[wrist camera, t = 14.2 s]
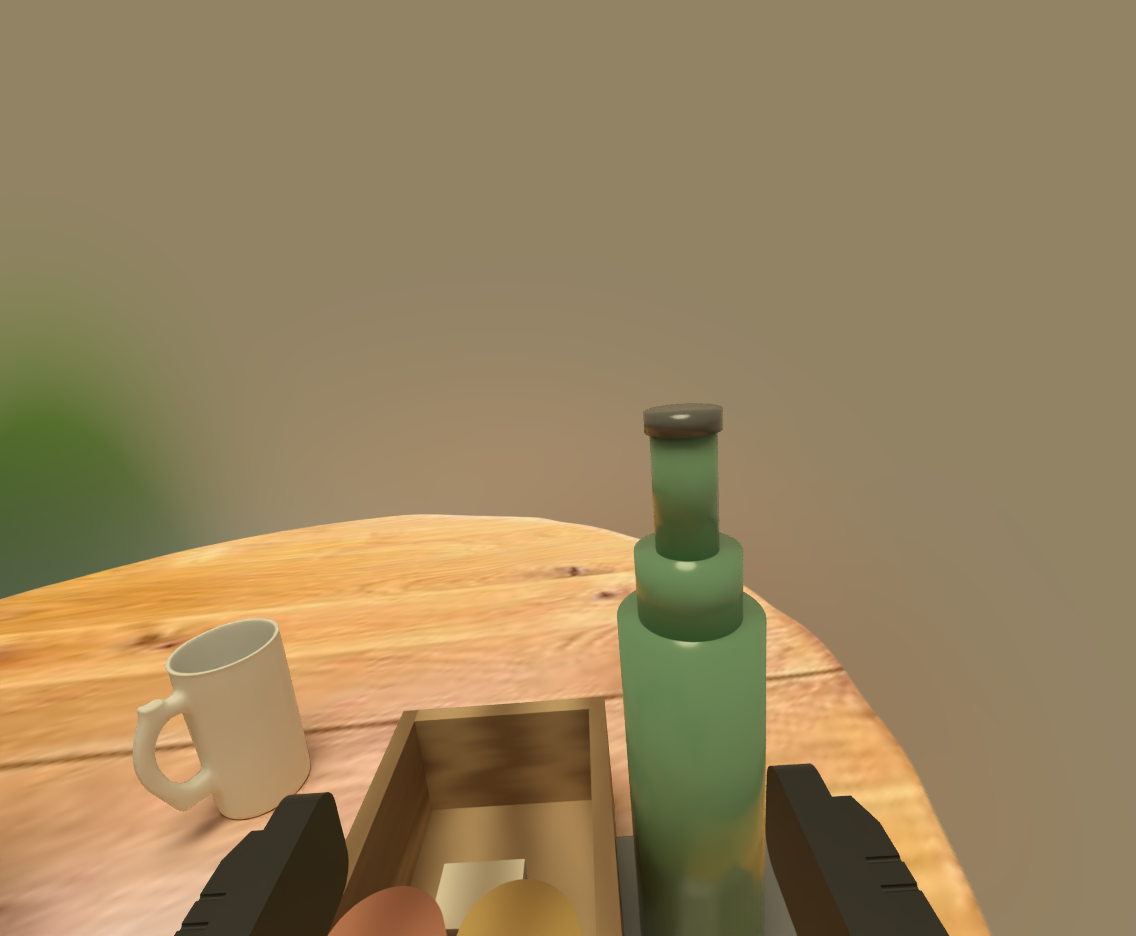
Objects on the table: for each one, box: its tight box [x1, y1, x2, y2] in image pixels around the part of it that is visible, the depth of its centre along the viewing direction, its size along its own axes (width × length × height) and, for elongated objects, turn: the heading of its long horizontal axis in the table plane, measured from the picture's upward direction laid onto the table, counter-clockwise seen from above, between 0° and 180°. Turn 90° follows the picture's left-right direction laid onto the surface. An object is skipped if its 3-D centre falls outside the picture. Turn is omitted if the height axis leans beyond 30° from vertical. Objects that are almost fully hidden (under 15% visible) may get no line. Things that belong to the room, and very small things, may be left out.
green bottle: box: [617, 403, 766, 936], centre depth 24 cm, size 6×6×27 cm
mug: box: [133, 618, 310, 819], centre depth 37 cm, size 10×7×12 cm, turn 153°
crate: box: [327, 697, 624, 936], centre depth 25 cm, size 13×20×9 cm, turn 179°
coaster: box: [616, 834, 797, 936], centre depth 28 cm, size 10×10×1 cm
